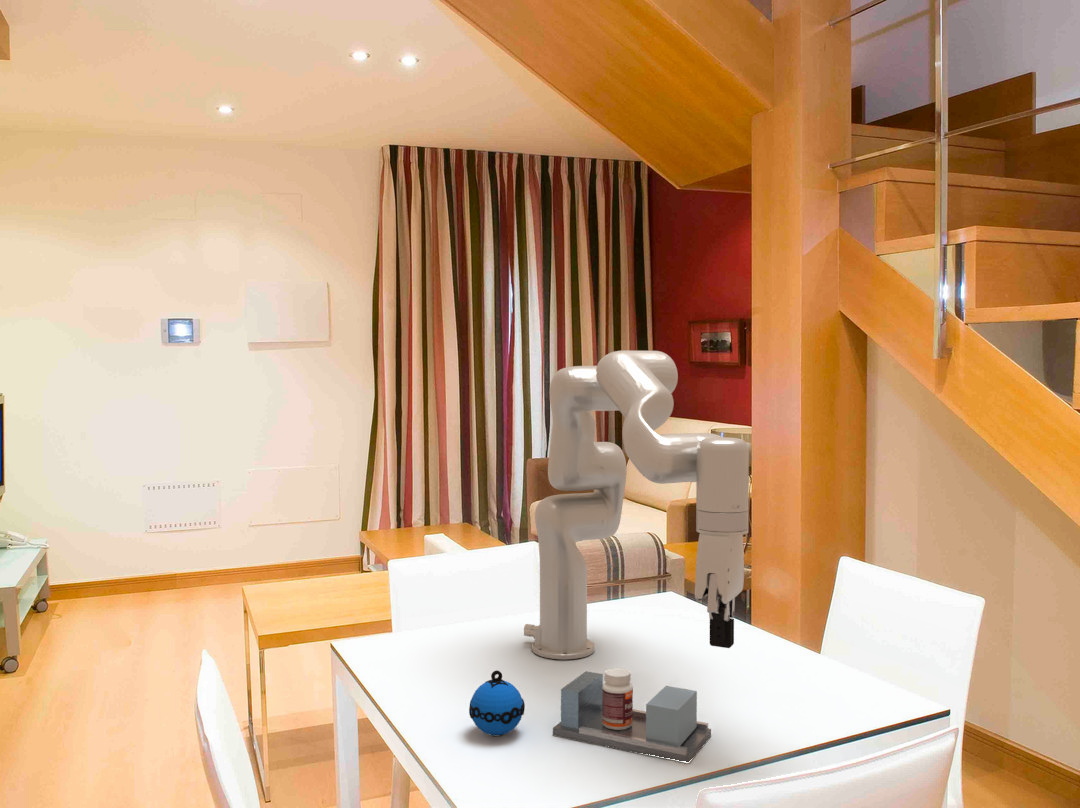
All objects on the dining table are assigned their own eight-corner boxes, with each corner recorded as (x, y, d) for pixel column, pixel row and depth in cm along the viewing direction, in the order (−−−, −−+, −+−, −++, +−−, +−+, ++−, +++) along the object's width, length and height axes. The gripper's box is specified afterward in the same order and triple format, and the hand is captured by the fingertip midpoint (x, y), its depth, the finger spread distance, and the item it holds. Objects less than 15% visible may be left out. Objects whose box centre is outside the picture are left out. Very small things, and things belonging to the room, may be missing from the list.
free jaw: (645, 741, 135) (646, 704, 135) (665, 721, 143) (666, 685, 143) (677, 748, 133) (678, 710, 133) (696, 727, 141) (696, 691, 141)
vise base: (552, 735, 141) (552, 689, 141) (582, 711, 151) (582, 668, 151) (688, 764, 131) (689, 715, 131) (711, 736, 141) (711, 690, 141)
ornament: (480, 749, 136) (480, 683, 136) (462, 728, 144) (462, 666, 144) (533, 739, 140) (533, 675, 139) (512, 719, 148) (512, 659, 147)
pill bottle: (631, 731, 140) (631, 678, 139) (600, 729, 141) (600, 676, 140) (634, 720, 144) (634, 668, 144) (604, 717, 145) (604, 666, 145)
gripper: (712, 512, 141) (711, 629, 142) (681, 527, 128) (680, 656, 129) (760, 516, 138) (759, 635, 139) (733, 531, 125) (732, 663, 125)
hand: (721, 645), depth 134 cm, fingers closed
